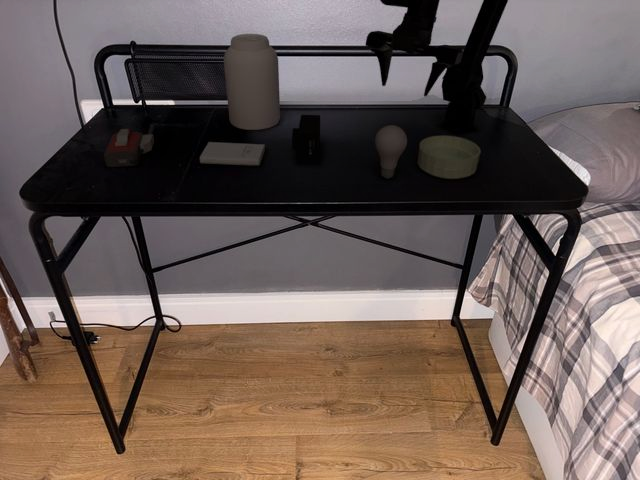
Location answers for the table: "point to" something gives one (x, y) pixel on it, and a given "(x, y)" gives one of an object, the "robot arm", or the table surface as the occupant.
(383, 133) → the lightbulb
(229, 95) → the wide mouth jar
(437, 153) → the bowl
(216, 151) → the hard drive
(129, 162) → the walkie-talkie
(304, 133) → the digital camera
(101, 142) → the table surface
